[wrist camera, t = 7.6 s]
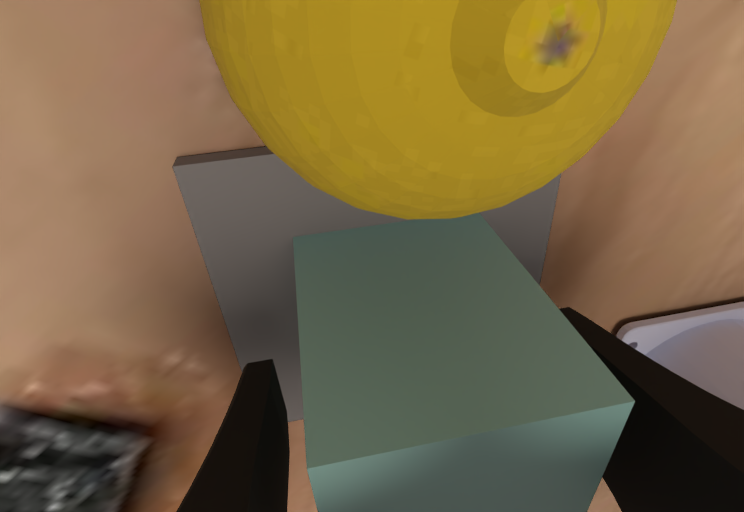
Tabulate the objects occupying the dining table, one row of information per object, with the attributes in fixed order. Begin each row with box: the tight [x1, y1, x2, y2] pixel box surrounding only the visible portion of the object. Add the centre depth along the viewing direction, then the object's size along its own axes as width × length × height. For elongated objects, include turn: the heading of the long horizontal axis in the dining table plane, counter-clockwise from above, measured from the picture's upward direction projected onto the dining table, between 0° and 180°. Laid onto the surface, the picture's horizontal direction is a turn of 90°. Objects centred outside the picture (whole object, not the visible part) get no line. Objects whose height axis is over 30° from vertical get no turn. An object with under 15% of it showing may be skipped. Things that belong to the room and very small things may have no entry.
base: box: [172, 147, 561, 422], centre depth 14 cm, size 10×10×1 cm
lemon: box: [199, 0, 677, 220], centre depth 6 cm, size 6×6×8 cm
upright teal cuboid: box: [293, 213, 635, 512], centre depth 11 cm, size 5×5×7 cm
